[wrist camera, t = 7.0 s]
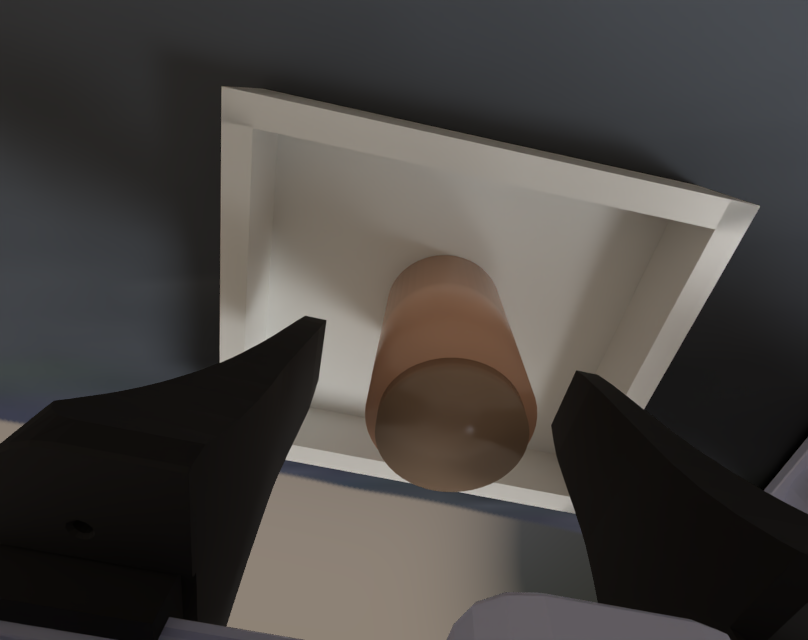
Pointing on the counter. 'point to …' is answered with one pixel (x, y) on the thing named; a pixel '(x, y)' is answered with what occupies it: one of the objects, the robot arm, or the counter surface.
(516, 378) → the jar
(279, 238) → the tray
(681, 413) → the counter surface
